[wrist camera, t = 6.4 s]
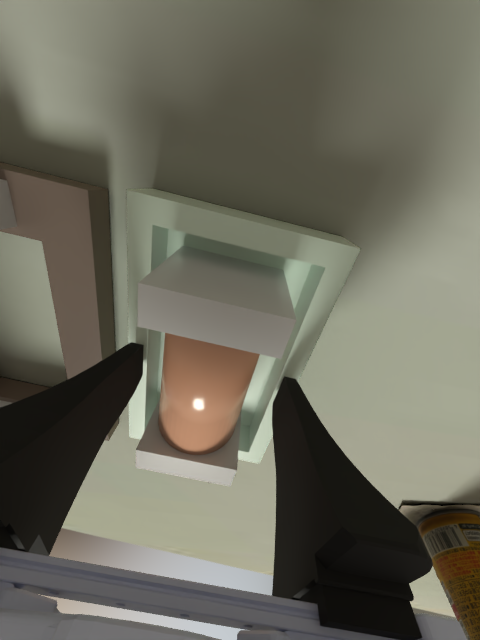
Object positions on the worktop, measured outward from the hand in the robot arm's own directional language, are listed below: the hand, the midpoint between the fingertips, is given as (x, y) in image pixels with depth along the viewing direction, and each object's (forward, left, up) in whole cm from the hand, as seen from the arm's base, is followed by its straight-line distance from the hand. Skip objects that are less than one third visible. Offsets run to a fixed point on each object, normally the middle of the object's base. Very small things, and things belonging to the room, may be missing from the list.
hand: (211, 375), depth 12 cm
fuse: (0, 0, -2) cm, 3 cm away
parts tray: (0, 0, -3) cm, 3 cm away
